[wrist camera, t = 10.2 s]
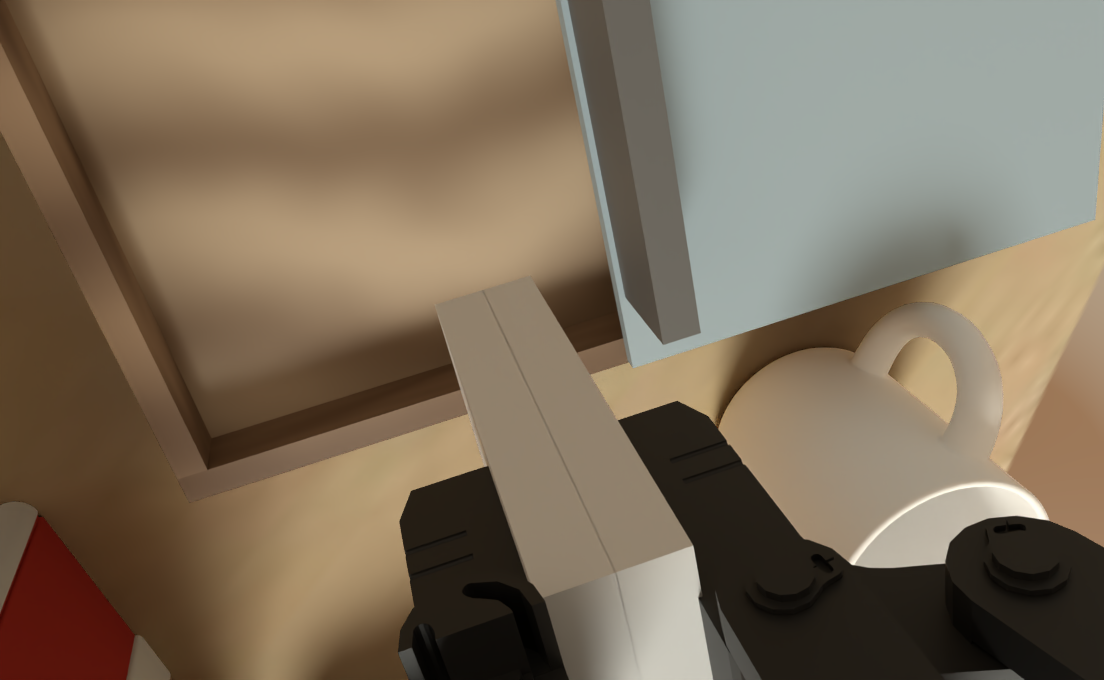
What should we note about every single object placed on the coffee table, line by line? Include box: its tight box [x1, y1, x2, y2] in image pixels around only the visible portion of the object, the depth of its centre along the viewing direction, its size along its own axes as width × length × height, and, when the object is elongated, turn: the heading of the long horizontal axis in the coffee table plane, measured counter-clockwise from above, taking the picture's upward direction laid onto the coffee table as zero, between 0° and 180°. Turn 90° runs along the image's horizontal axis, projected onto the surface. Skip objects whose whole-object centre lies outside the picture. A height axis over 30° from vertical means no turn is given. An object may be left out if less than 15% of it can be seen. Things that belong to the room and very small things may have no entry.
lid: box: [556, 0, 1104, 368], centre depth 28 cm, size 19×18×4 cm
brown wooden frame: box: [0, 0, 628, 503], centre depth 30 cm, size 20×34×3 cm, turn 102°
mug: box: [718, 302, 1049, 568], centre depth 35 cm, size 12×8×10 cm
